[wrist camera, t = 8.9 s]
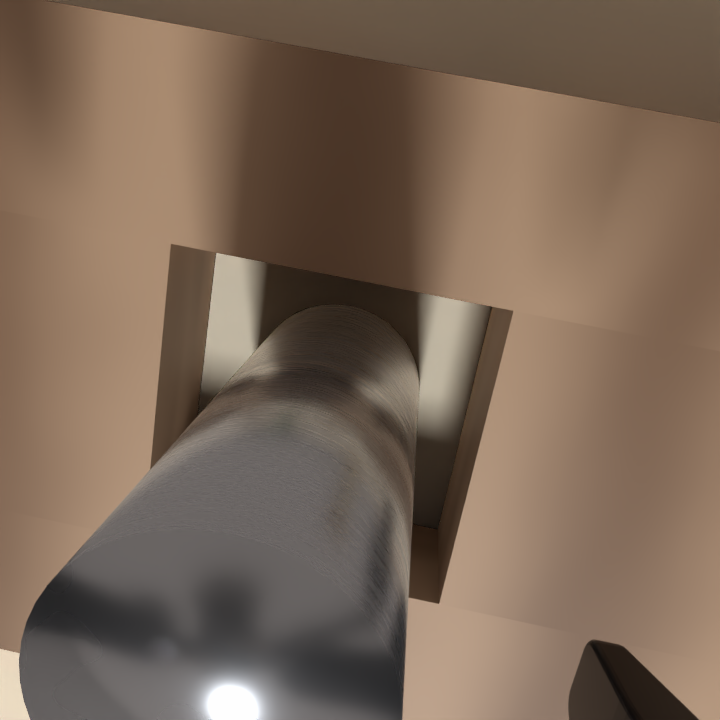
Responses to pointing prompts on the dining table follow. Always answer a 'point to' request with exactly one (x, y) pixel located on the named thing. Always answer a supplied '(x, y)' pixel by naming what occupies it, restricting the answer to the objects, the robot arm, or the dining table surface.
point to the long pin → (252, 550)
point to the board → (389, 268)
